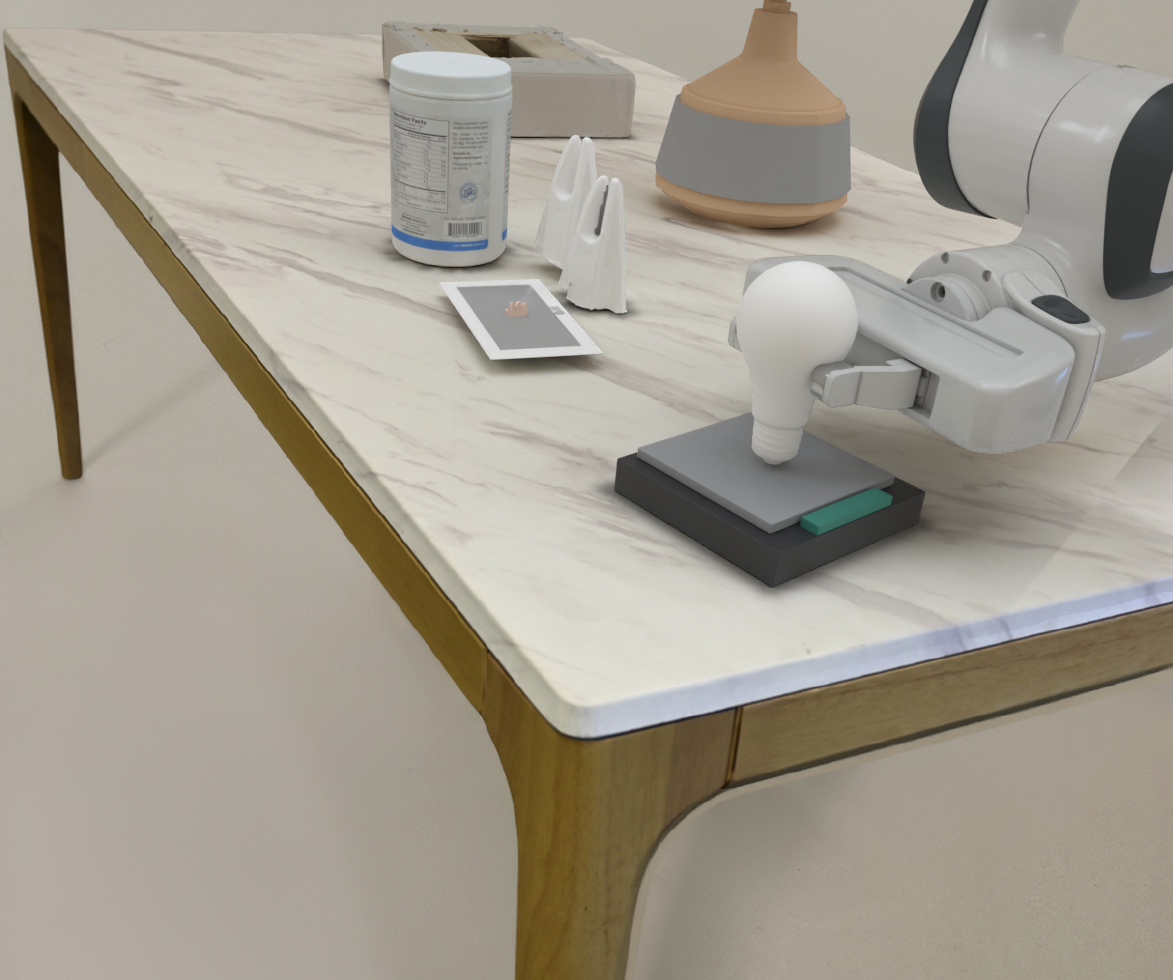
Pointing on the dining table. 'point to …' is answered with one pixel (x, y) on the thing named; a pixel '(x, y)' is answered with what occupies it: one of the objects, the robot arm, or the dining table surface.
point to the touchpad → (518, 319)
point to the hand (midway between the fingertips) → (777, 361)
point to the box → (534, 75)
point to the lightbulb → (791, 347)
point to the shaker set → (585, 230)
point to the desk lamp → (758, 135)
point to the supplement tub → (449, 157)
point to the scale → (767, 498)
